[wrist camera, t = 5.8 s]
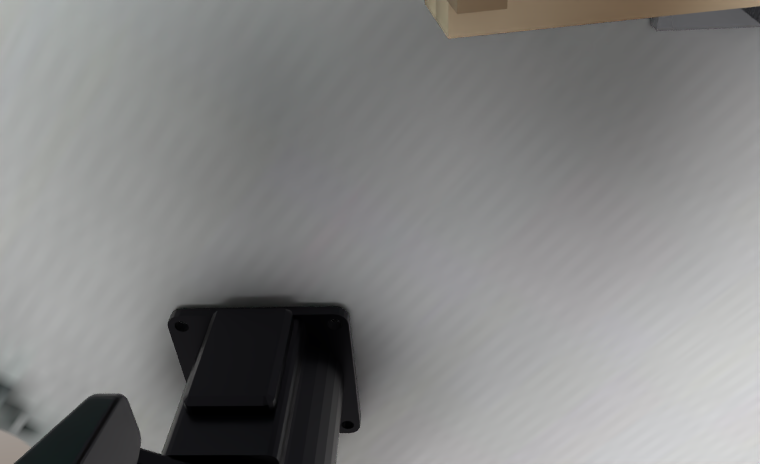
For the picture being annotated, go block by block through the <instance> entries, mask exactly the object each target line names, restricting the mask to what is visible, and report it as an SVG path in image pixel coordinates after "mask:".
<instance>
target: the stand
mask: <svg viewBox="0 0 760 464" xmlns="http://www.w3.org/2000/svg"><path fill="white" fill-rule="evenodd" d="M651 25H652V26H653V28H654V29H655V30H656V31H667V30H692V29H717V28H741V27H760V6H756V7H747V8H737V9H727V10H718V11H708V12H699V13H689V14H680V15H670V16H661V17H652V20H651Z"/></svg>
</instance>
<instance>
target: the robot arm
mask: <svg viewBox="0 0 760 464" xmlns="http://www.w3.org/2000/svg"><path fill="white" fill-rule="evenodd" d="M333 319H335V320H339V321H340V322H333V321H331V320H333ZM179 321H181V322H185V323H186V324H183V323H181V322H179ZM168 328H169V331H170V334H171V337H172V340H173V343H174V346H175V349H176V352H177V356H178V359H179V362H180V365H181V368H182V371H183V374H184V377H185V380H186V386H185V389H184V392H183V395H182V397H181V400H180V403H179V406H178V409H177V411H176V414H175V417H174V420H173V423H172V425H171V428H170V431H169V434H168V436H167V439H166V442H165V445H164V448H163V450H162V453H161V454H158V453H155V452H152V451H148V450H145V449H142V448H140V446H141V437H140V431H139V428H138V426H137V423H136V420H135V418H134V415H133V412H132V410H131V407H130V404H129V402H128V400H127V398H126V397H125V396H124V395H122V394H94V395H92V396H90V397H88V398H87V399H86V400H85V401H83V402H82V403H81V404H80V405H79V406H78V407H77V408H76V409H74V410H73V411H72V412H71V413H70V414H69V415H68V416H67V417H66V418H64V419H63V420H62V421H61V422H60V423H59V424H58V425H57V426H55V427H54V428H53V429H52V430H51V431H50V432H49V433H48V434H46V435H45V436H44V437H43V438H42V439H41V440H40V441H39V442H38V443H36V444H35V445H34V446H33V447H32V448H31V449H30V450H29V451H27V452H26V453H25V454H24V455H23V456H22V457H21V458H20V459H18V460H17V461H16V462H15V463H14V464H336V459H337V450H338V440H339V433H352V432H355V431H357V430H358V429H359V428H360V421H361V414H360V405H359V396H358V387H357V378H356V369H355V360H354V351H353V342H352V333H351V324H350V316H349V314H348V312H347V311H346V310H345V309H343V308H341V307H335V306H327V307H259V308H192V309H177V310H175V311H173V313H172V314H171V316H170V319H169V321H168Z"/></svg>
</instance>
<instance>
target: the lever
mask: <svg viewBox="0 0 760 464" xmlns="http://www.w3.org/2000/svg"><path fill="white" fill-rule="evenodd" d="M425 5H426V6H427V8H428V9H429V11H430V12H431V14H432V15H433V17H434V18H435V20H436V21H437V23H438V24H439V26H440V27H441V29H442V30H443V32H444V33H445V35H446V36H447V38H448V39H451V38H461V37H470V36H480V35H489V34H499V33H509V32H518V31H528V30H537V29H547V28H556V27H566V26H575V25H585V24H594V23H604V22H613V21H623V20H632V19H642V18H651V17H661V16H670V15H680V14H689V13H699V12H708V11H718V10H727V9H737V8H747V7H756V6H760V0H425Z"/></svg>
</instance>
